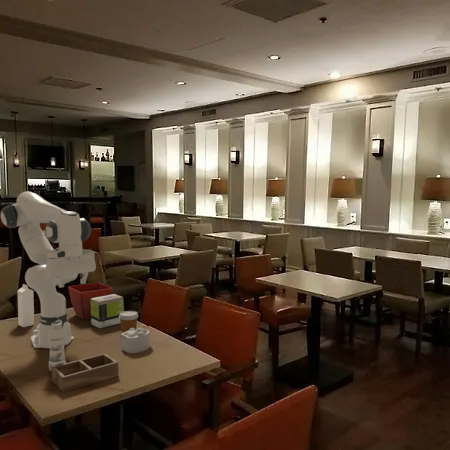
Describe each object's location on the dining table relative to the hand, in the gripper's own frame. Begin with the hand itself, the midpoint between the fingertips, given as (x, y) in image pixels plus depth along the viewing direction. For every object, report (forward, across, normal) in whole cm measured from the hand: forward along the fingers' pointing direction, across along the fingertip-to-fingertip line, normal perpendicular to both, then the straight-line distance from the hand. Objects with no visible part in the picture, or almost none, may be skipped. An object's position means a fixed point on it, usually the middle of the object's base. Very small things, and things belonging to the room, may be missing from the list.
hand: (72, 285), depth 177 cm
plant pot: (+31, -45, -63) cm, 84 cm away
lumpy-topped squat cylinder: (+35, -32, -3) cm, 48 cm away
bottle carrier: (+36, +1, +9) cm, 37 cm away
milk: (+31, -12, -73) cm, 80 cm away
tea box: (+32, -43, -44) cm, 69 cm away
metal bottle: (+35, +5, -6) cm, 36 cm away
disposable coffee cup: (+34, -39, -18) cm, 54 cm away
